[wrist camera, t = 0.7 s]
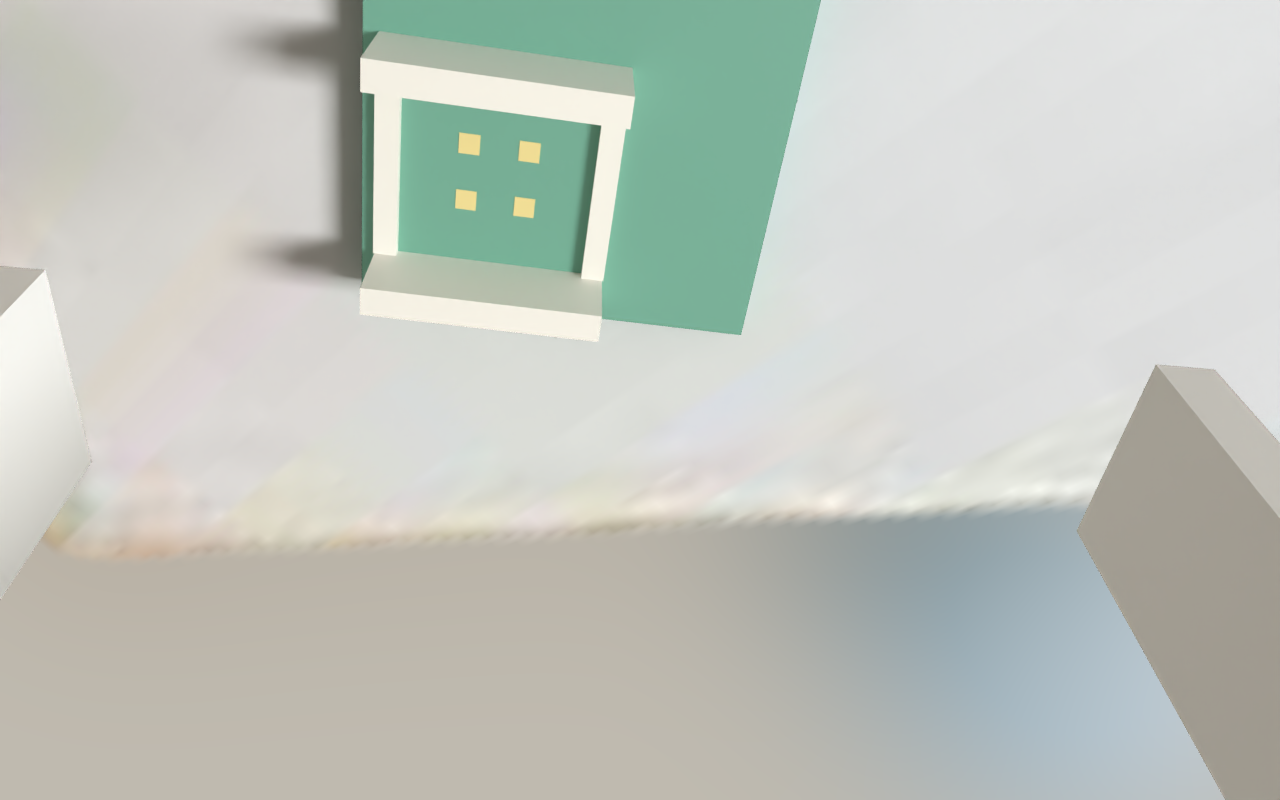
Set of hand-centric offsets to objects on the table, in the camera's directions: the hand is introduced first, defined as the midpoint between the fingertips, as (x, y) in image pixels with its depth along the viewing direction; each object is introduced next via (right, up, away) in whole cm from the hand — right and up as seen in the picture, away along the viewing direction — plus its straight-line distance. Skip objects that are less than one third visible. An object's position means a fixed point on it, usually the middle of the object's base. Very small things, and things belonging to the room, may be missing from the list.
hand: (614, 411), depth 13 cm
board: (-2, +11, +22) cm, 24 cm away
